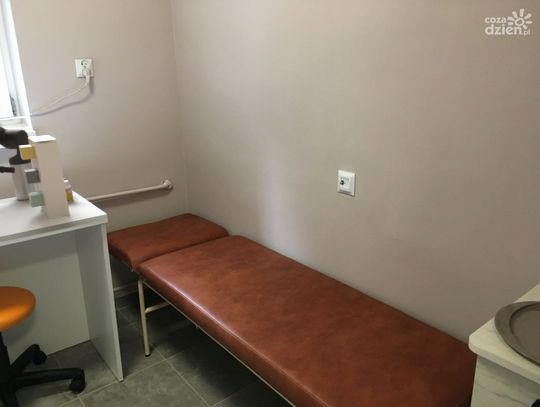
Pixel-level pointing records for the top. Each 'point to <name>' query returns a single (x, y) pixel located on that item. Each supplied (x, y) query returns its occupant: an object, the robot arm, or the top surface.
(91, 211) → the top surface
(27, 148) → the tan square block
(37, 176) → the charcoal key
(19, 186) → the robot arm
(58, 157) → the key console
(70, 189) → the supplement bottle
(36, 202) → the sage key
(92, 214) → the top surface
